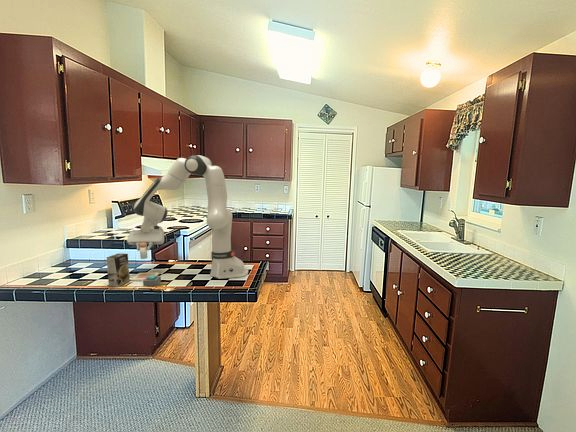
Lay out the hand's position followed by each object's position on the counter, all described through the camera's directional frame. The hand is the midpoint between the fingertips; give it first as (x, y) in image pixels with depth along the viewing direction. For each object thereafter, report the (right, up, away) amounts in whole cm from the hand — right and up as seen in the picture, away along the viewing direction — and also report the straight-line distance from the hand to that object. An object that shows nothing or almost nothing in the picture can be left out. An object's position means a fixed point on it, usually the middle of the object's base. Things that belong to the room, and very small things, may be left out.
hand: (142, 250), depth 179 cm
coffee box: (-9, -18, -7) cm, 22 cm away
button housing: (+9, -18, -8) cm, 21 cm away
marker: (0, -5, +1) cm, 5 cm away
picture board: (0, -16, +3) cm, 16 cm away
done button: (+9, -15, -8) cm, 19 cm away
